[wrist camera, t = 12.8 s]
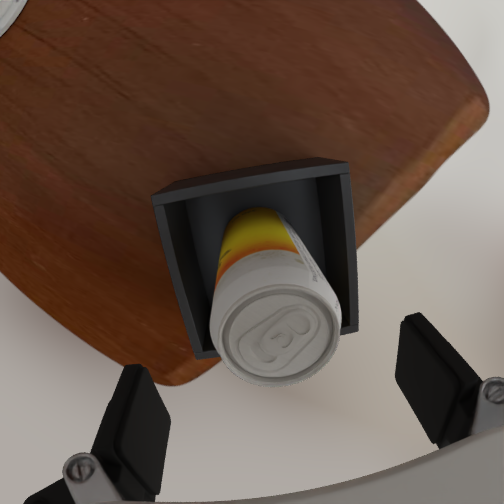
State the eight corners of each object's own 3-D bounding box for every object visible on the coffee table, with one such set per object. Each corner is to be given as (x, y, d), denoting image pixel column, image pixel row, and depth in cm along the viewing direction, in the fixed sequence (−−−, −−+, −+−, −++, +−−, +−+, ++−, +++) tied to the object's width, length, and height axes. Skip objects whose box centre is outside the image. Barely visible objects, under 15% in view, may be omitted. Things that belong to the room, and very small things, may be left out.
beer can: (207, 241, 27) (178, 343, 13) (258, 190, 26) (284, 245, 12) (258, 286, 29) (275, 410, 15) (308, 239, 28) (373, 335, 13)
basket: (174, 181, 26) (150, 195, 19) (318, 157, 26) (348, 162, 19) (204, 310, 30) (196, 360, 23) (332, 288, 30) (358, 331, 23)
